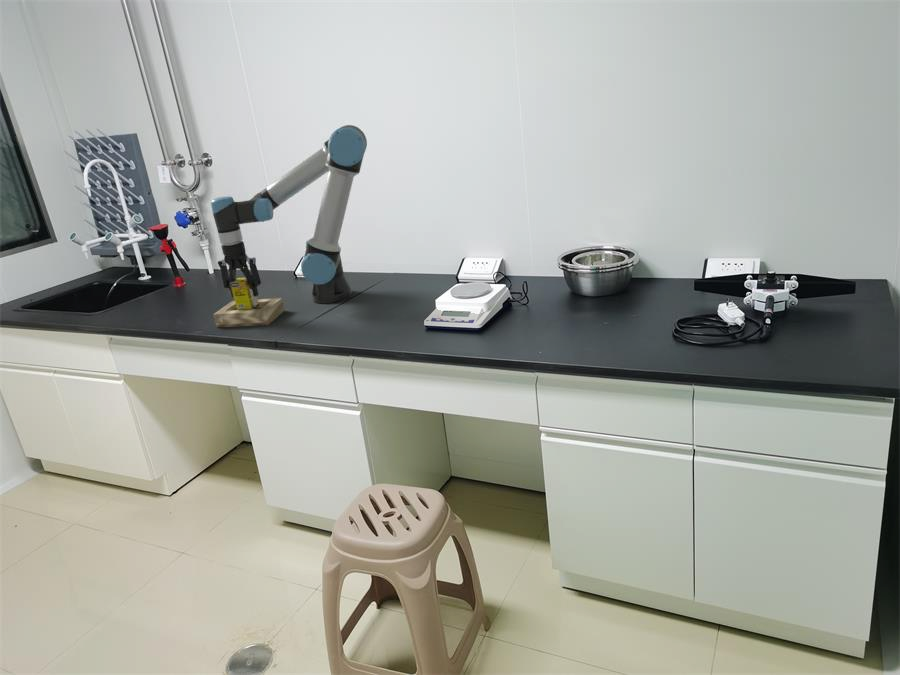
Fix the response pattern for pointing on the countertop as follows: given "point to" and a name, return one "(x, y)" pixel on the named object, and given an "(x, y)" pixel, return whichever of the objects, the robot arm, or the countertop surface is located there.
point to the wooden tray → (249, 314)
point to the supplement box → (242, 294)
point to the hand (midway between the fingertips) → (247, 305)
